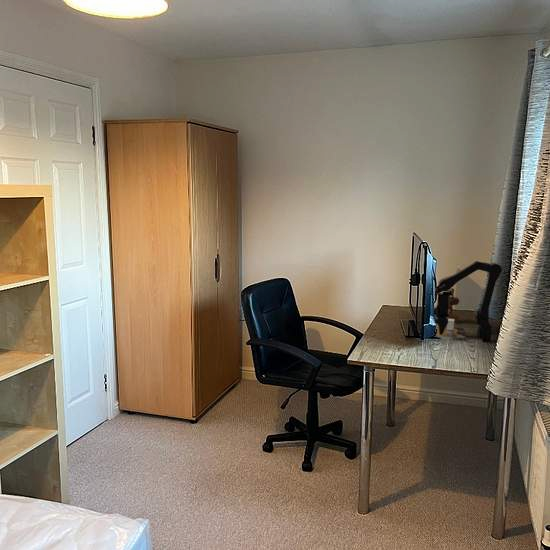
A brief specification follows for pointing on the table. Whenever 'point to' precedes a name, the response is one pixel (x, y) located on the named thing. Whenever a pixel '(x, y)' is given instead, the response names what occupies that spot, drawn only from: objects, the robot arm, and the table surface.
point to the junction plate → (451, 335)
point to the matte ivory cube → (450, 324)
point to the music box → (452, 302)
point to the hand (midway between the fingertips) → (441, 333)
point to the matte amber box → (439, 332)
